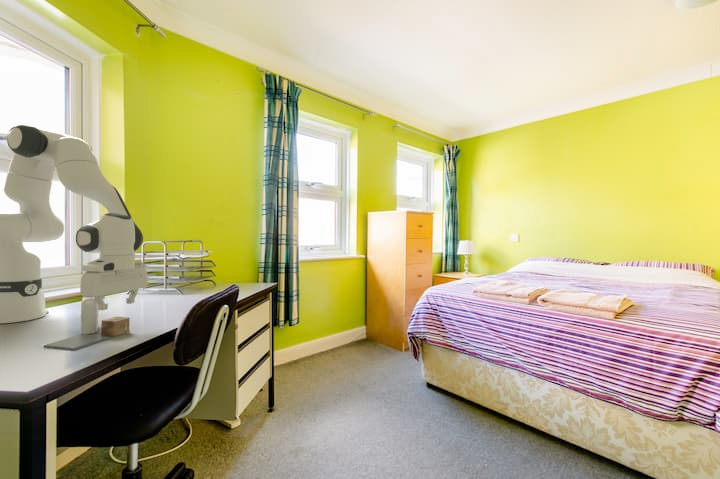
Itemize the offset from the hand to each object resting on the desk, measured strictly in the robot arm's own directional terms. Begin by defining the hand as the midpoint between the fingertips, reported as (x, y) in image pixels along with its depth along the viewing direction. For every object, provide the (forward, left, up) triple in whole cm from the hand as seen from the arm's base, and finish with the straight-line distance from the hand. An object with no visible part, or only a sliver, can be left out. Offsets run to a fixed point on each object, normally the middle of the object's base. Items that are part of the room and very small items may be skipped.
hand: (117, 306), depth 98 cm
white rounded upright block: (-11, +1, -9) cm, 15 cm away
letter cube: (0, 0, -9) cm, 9 cm away
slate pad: (-3, -9, -9) cm, 13 cm away
